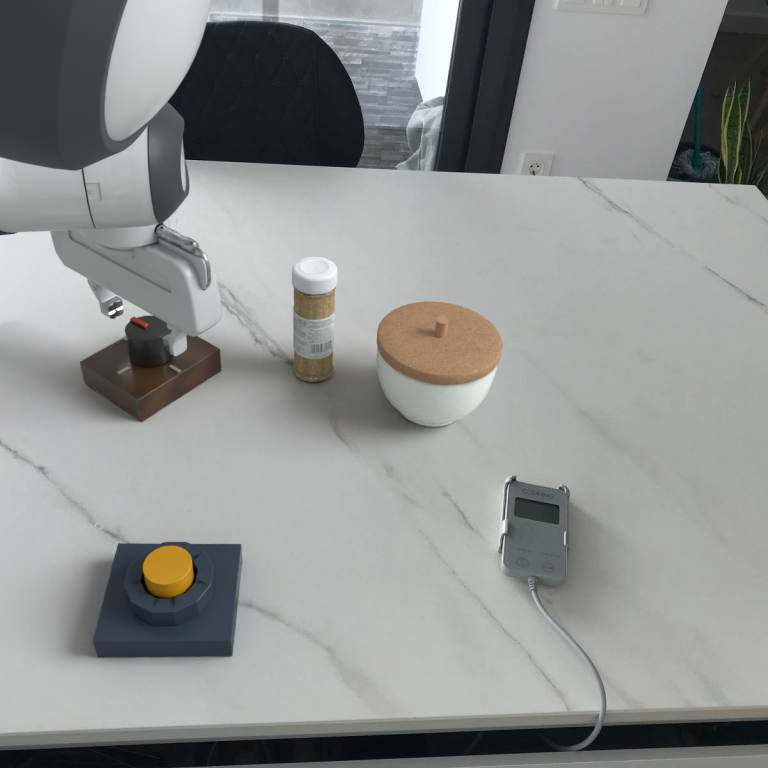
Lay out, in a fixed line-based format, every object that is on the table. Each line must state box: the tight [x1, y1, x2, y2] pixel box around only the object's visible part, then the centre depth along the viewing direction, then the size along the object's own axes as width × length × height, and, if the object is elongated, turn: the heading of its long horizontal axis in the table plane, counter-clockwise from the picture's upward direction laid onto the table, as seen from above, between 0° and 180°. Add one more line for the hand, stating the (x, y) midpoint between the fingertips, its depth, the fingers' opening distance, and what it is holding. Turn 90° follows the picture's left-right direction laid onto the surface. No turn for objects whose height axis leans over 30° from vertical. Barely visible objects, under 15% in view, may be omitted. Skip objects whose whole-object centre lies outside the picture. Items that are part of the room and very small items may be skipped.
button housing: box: [92, 541, 243, 658], centre depth 61 cm, size 10×9×4 cm
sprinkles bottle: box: [291, 256, 338, 383], centre depth 82 cm, size 5×5×14 cm
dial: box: [124, 314, 172, 367], centre depth 80 cm, size 4×4×4 cm
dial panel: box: [79, 330, 222, 423], centre depth 82 cm, size 11×9×3 cm
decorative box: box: [376, 301, 503, 428], centre depth 80 cm, size 13×13×11 cm
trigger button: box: [143, 546, 194, 598], centre depth 59 cm, size 4×4×2 cm
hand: (143, 332), depth 79 cm, fingers open, 8 cm apart
